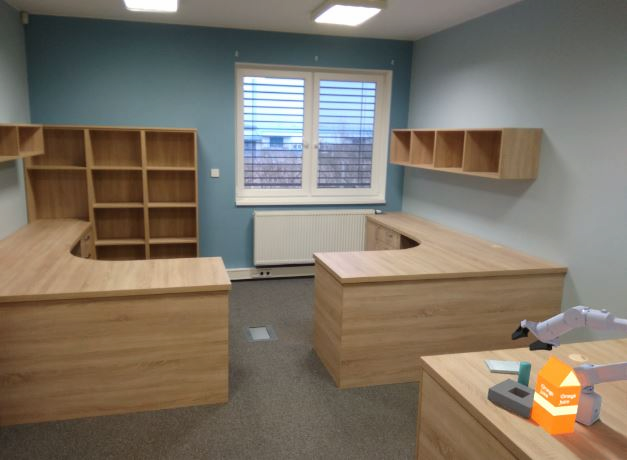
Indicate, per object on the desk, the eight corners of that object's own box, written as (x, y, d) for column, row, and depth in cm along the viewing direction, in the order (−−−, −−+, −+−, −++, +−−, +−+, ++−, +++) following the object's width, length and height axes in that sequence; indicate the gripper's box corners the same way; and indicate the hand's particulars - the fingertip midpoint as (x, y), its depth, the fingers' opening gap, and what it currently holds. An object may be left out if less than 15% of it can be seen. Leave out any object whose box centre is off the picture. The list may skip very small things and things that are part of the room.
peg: (530, 386, 172) (533, 364, 170) (524, 389, 170) (528, 367, 168) (520, 382, 175) (523, 360, 173) (515, 385, 172) (518, 363, 171)
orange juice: (550, 434, 144) (561, 369, 140) (530, 417, 153) (540, 355, 149) (573, 432, 146) (584, 368, 142) (552, 415, 155) (562, 354, 151)
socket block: (548, 406, 159) (550, 396, 159) (528, 418, 152) (530, 408, 151) (507, 388, 170) (508, 378, 169) (487, 398, 162) (488, 388, 162)
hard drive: (518, 361, 188) (484, 358, 189) (526, 371, 180) (490, 369, 181) (517, 365, 189) (483, 362, 189) (525, 376, 181) (490, 373, 181)
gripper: (570, 328, 164) (537, 342, 174) (536, 306, 161) (504, 322, 171) (571, 346, 159) (538, 360, 169) (536, 324, 156) (504, 340, 166)
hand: (521, 342), depth 170 cm, fingers open, 7 cm apart
